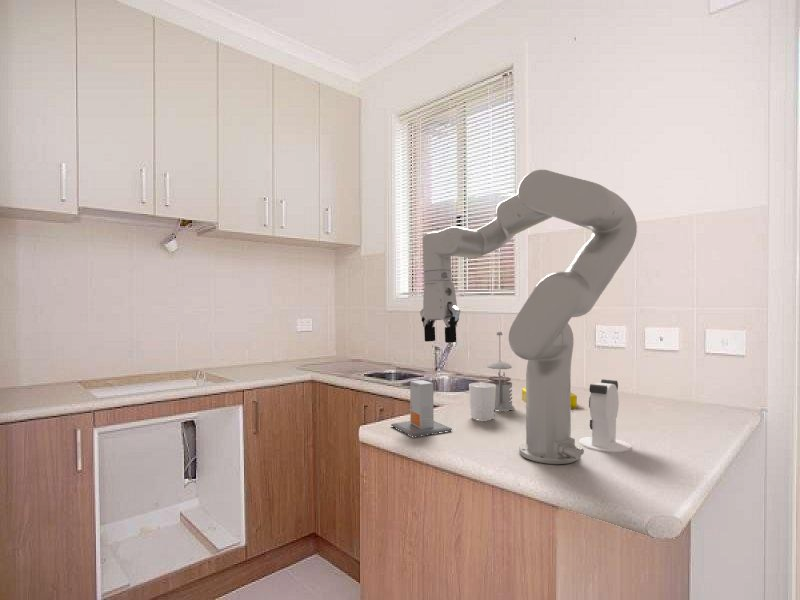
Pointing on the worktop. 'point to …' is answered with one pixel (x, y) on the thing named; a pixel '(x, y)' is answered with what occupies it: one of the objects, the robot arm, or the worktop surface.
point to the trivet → (417, 431)
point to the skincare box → (421, 404)
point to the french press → (501, 385)
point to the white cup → (482, 400)
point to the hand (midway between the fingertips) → (440, 341)
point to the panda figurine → (604, 418)
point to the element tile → (572, 398)
